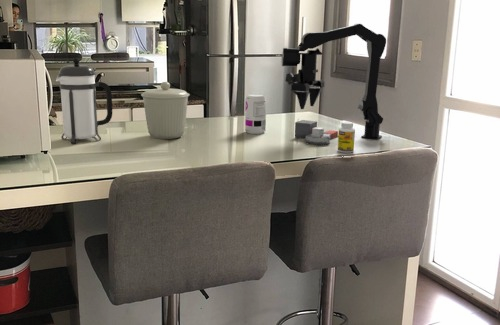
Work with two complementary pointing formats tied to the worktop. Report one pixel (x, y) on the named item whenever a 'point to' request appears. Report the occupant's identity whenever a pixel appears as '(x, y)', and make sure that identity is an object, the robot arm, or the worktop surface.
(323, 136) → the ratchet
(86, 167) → the worktop surface
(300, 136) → the brushed grey cube
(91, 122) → the coffee press
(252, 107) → the supplement can
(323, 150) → the worktop surface
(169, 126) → the canister
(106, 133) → the worktop surface
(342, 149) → the supplement bottle
